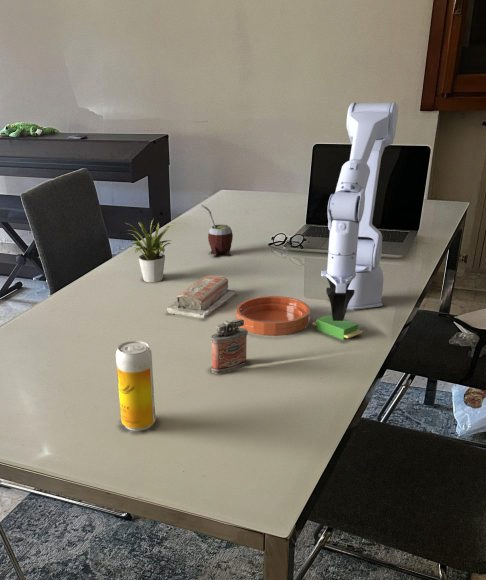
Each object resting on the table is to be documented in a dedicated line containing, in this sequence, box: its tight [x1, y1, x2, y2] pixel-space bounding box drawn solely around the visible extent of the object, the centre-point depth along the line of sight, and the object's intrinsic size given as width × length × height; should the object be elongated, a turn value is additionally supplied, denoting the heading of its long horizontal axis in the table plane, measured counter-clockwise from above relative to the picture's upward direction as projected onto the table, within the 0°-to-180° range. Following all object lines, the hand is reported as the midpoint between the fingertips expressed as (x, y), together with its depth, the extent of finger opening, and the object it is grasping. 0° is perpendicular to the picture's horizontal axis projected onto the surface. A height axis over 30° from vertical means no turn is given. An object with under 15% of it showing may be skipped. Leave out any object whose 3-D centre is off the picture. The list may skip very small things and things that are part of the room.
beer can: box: [115, 340, 156, 432], centre depth 128 cm, size 6×6×15 cm
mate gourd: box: [200, 204, 234, 258], centre depth 210 cm, size 8×8×15 cm
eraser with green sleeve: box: [311, 313, 363, 341], centre depth 160 cm, size 4×10×3 cm, turn 35°
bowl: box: [235, 295, 311, 336], centre depth 167 cm, size 16×16×4 cm
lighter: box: [210, 318, 249, 375], centre depth 147 cm, size 8×3×10 cm, turn 117°
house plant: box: [125, 219, 175, 283], centre depth 195 cm, size 14×14×16 cm
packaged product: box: [166, 274, 237, 319], centre depth 179 cm, size 18×5×10 cm
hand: (337, 313), depth 158 cm, fingers open, 7 cm apart
